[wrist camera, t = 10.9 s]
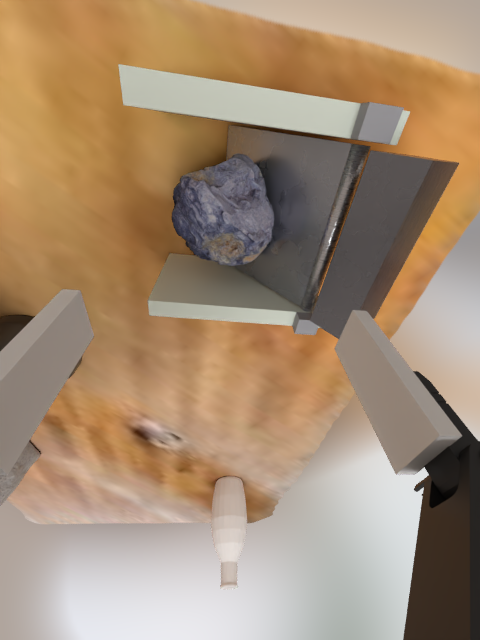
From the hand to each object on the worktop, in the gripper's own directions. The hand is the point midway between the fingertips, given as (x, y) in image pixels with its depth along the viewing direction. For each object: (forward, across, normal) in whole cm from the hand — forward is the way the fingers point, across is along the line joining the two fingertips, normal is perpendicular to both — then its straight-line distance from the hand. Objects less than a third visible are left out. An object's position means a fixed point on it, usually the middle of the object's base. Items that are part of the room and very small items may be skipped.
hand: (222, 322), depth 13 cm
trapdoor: (+20, +11, 0) cm, 23 cm away
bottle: (+26, +9, -89) cm, 93 cm away
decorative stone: (+27, -48, -67) cm, 87 cm away
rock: (+21, +3, 0) cm, 21 cm away
